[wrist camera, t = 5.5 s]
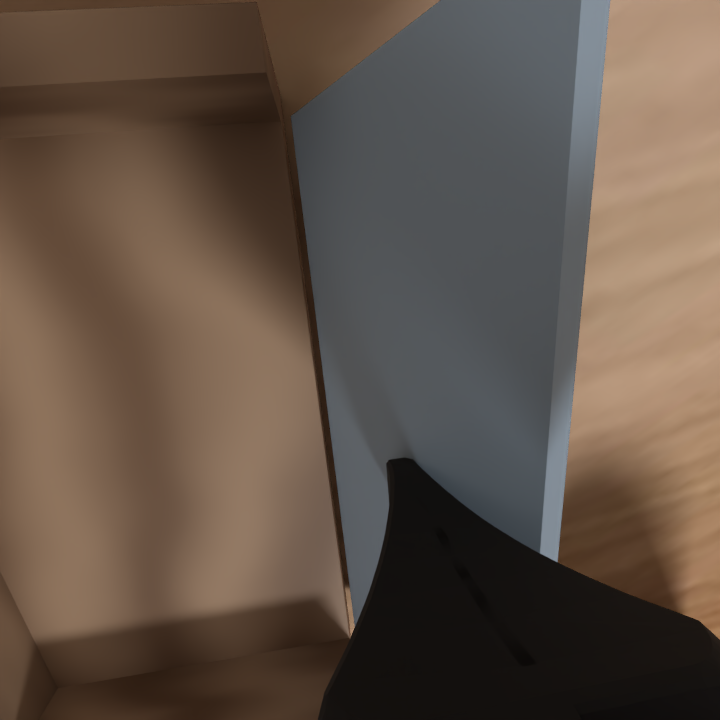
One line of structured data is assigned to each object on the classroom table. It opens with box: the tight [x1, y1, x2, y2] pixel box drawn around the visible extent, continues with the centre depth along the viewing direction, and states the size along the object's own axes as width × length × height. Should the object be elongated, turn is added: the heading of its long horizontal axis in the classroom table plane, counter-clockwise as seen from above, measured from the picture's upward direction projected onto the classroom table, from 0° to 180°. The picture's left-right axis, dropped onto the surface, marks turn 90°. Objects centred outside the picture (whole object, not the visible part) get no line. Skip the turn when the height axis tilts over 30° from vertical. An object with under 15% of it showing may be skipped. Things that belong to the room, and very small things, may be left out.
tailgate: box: [291, 0, 610, 626], centre depth 11 cm, size 1×21×8 cm
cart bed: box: [0, 2, 351, 720], centre depth 12 cm, size 14×23×4 cm, turn 5°
